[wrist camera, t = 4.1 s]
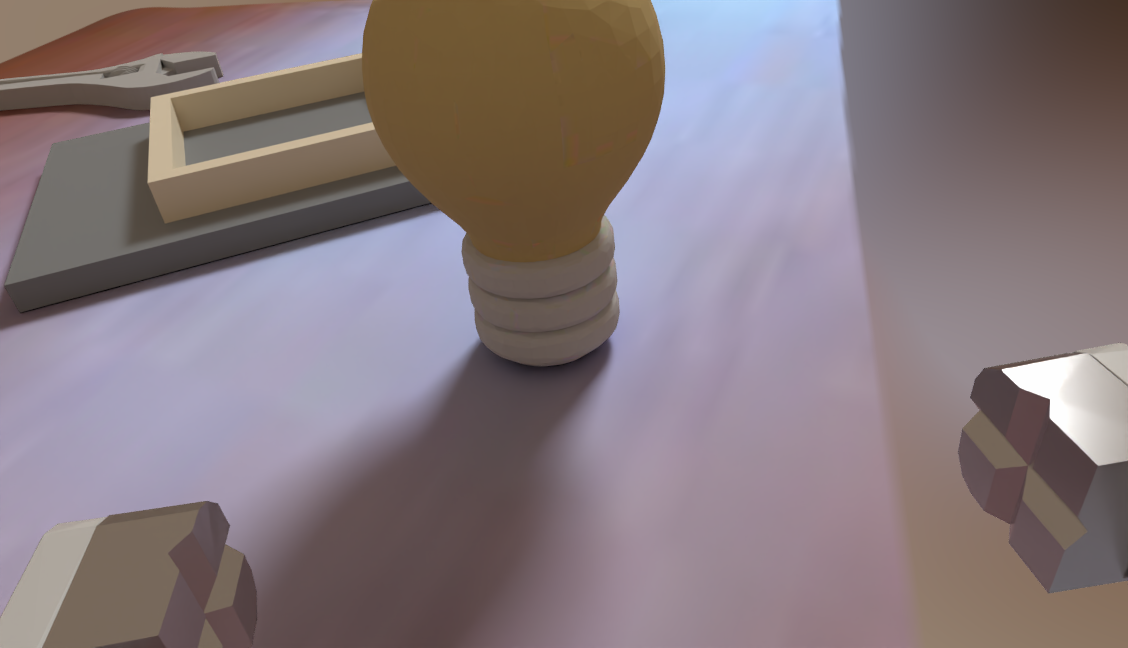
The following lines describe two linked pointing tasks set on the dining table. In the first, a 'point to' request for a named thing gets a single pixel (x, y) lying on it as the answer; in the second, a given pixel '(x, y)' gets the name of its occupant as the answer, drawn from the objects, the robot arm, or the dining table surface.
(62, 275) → the board
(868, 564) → the dining table surface
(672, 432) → the dining table surface
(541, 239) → the light bulb
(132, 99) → the adjustable wrench
